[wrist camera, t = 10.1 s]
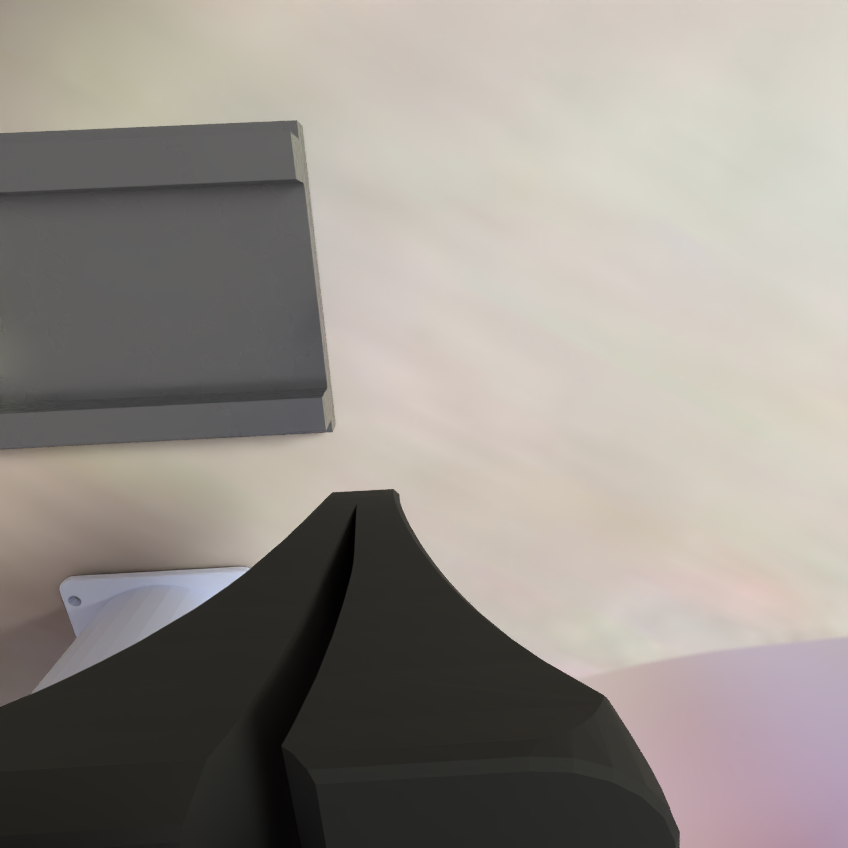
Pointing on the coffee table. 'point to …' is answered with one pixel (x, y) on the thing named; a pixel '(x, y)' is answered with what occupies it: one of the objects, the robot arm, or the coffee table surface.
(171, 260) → the chute
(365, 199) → the coffee table surface
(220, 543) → the coffee table surface
